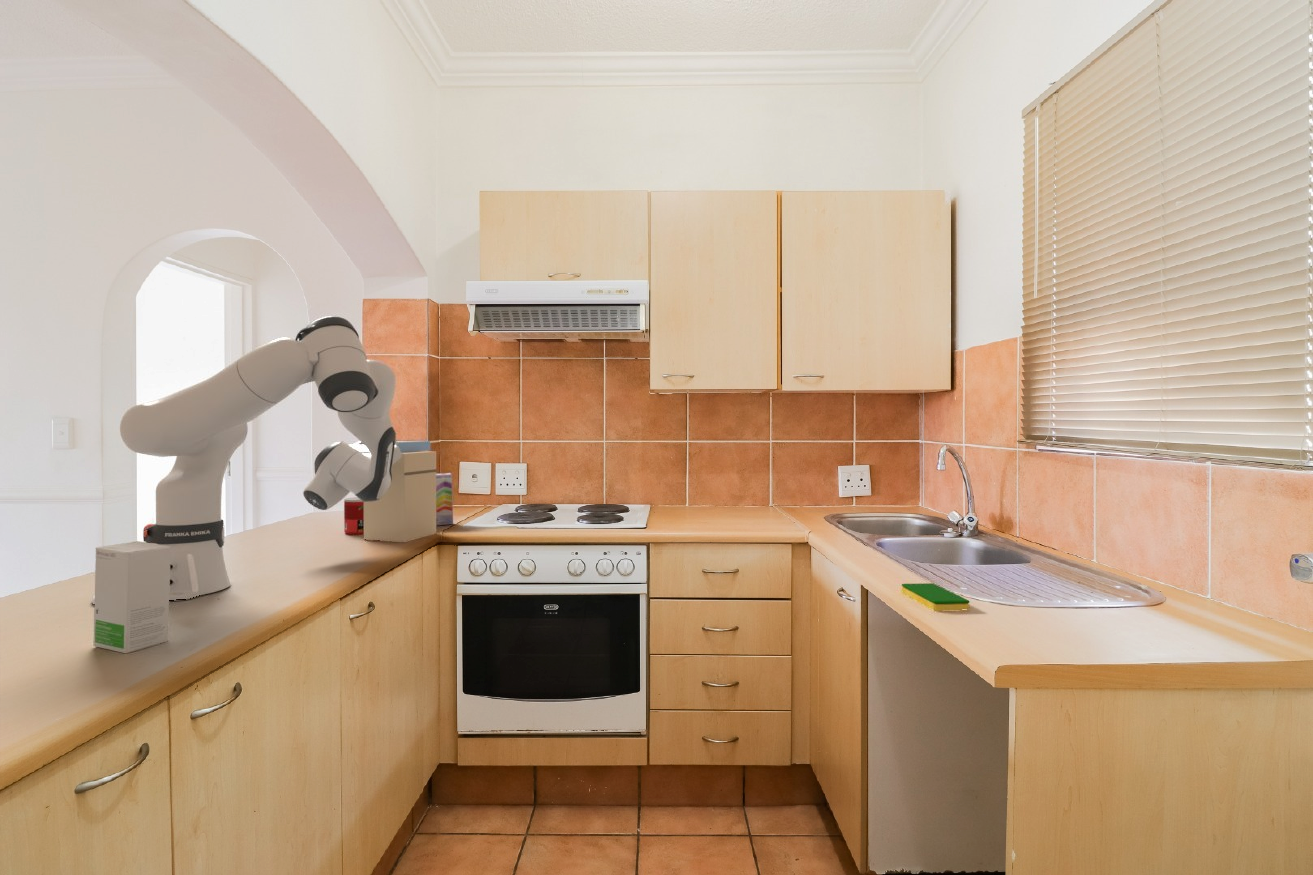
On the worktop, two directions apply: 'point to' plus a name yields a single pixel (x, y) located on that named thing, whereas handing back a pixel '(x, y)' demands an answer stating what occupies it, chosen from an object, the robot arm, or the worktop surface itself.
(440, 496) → the cake pan box
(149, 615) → the skincare box
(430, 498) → the kraft carton
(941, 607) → the dish sponge
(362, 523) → the canned food
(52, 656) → the worktop surface
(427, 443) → the bar
